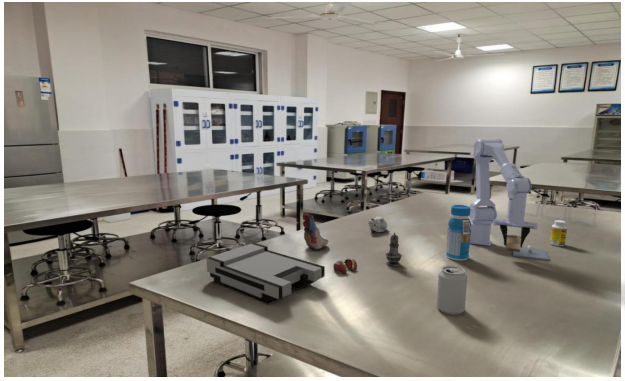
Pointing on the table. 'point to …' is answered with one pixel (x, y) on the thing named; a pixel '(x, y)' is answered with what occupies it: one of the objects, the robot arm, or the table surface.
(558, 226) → the supplement bottle
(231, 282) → the game console
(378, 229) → the grey lumpy stone
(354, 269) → the pair of red halves
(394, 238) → the stone pagoda statue
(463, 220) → the beverage bottle
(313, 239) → the rooster figurine
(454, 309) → the can
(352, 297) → the table surface
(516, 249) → the sleeve
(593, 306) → the table surface
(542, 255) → the pin plate
